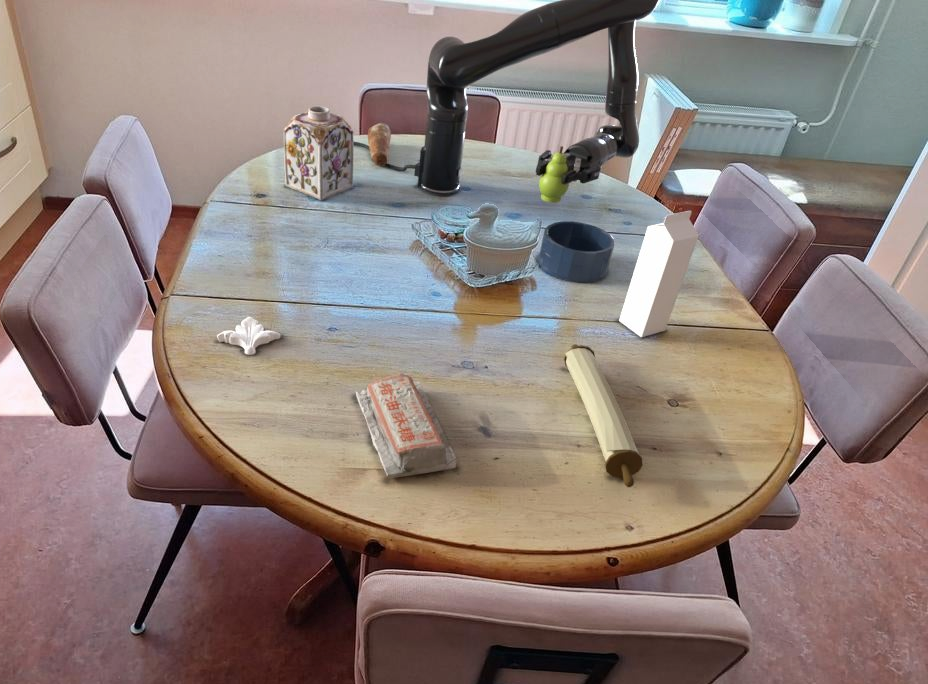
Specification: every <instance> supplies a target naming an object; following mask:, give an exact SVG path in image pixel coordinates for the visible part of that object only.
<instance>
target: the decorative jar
mask: <svg viewBox="0 0 928 684" xmlns="http://www.w3.org/2000/svg"><path fill="white" fill-rule="evenodd" d="M354 133H355V132H354V130H353V129H352V126H351V125H350V124H349V122H347V121H346V119H345V118H344V116H342V115H339V114H336V113H333V112H330V109H329V108H328V107H326V106H321V105H312V106H310V107H308V109H307V111H304V112H300V113H298V114H295V115H294V116H293V117H292V118H291V119H290V120H289V122H288V123H287V124H286V125H285V127H284V128H283V157H284V158H283V159H284V160H283V162H284V165H283V166H284V181H285V182H284V183H285V187H287V188H289V189H292V190H294V191H296V192H300V193H302V194H304V195H307V196H308V197H312V198H314V199H317V200H319V201H323V200H326V199H328V198H330V197H333V196H335V195H337V194H339V193H343V192H344V191H347V190H349V189H351V188H353V185H354V149H355V148H354V146H355V145H354V142H355V141H354ZM353 141H354V142H353Z"/></svg>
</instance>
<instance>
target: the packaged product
mask: <svg viewBox="0 0 928 684" xmlns="http://www.w3.org/2000/svg"><path fill="white" fill-rule="evenodd" d="M355 393H356V394H355V395H356V400H357V402H358V404H359V407H360V410H361V412H362V414H363V416H364V419H365V421H366V425H367V428H368V430H369V433H370V437H371V441H372V445H373V447H374V448H375V450H376V452H377V454H378V457H379V461H380V463H381V465H382V468H383V469H384V472H385V474H386V477H387V479H388V480H389V479H390V480H391V479H395V478H396V479H397V478H403V477H409V476H416V475H421V474H427V473H434V472H439V471H447V470H452V469H456V466H457V461H458V457H456V455H455V452H454V451H453V449H452V446H451V444H450V442H449V440H448V438H447V436H446V435H445V432H444V430H443V428H442V426H441V424H440V422H439V420H438V418H437V415H436V413H435V412H434V410H433V407H432V406H431V403H430V402H429V399H428V397H427V395H426V393H425V391H424V389H423V387H422V385H421V383H420V381H419V380H417V381H416V380H415V381H414V380H413V378H412V376H411V374H408V373H402V372H399V373H393V374H391V375H389V376H386V377H383V378H381V379H380V378H379V379H376V380H374V381H372V382H369V384H368V385H367V388H366V389H365V388H363V389H362V390H355Z"/></svg>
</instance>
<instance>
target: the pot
mask: <svg viewBox="0 0 928 684" xmlns="http://www.w3.org/2000/svg"><path fill="white" fill-rule="evenodd" d="M615 244H616V243H615V238H614V237H613V236H612V235H611V234H610V233H609V232H607V231H606V230H604V229H603V228H600V227H599V226H596V225H592V224H589V223H585V222H579V221H571V220H570V221H568V220H567V221H566V220H565V221H563V220H562V221H557V222H554V223H553V222H552V223H551V224H548V225H547V226H546V227H545V228H544V231H543V235H542V240H541V245H540V248H539V249H540V250H539V255H538V264H539V266H540V267H541V269H542V270H543V271H545V272H546V273H547V274H549V275H551V276H552V277H555V278H557V279H560V280H564V281H568V282H572V283H593V282H597V281H599V280H601V279H603V278H605V276H606V275H607V272H608V270H609V267H610V263H611V259H612V256H613V252H614V249H615Z"/></svg>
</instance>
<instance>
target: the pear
mask: <svg viewBox="0 0 928 684" xmlns="http://www.w3.org/2000/svg"><path fill="white" fill-rule="evenodd" d="M563 150H564V146H563V145H561V146H560V147H559V151H557V152H556V153H554V154H552V155H553V157H552V161H550V162H549V164H548V165H547V167H546V172H545V173H544V174H542V175H540V178H539V181H538V187H539V191H540V193H541V195H540V199H541V200H542V201H544V202H547V203H551V204H556V203H559V202H561V201H562V197H563V196H564V195H565V194H566V193H567V191H568V189H569V186H570V183H567V184H565V185H564V184H562V183H561V182H562V177H563V175H564V174H565V173H566V172H568V167H567V164H566V163H565V162H566V156H565V155H564V154H563V153H564V152H563Z"/></svg>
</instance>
